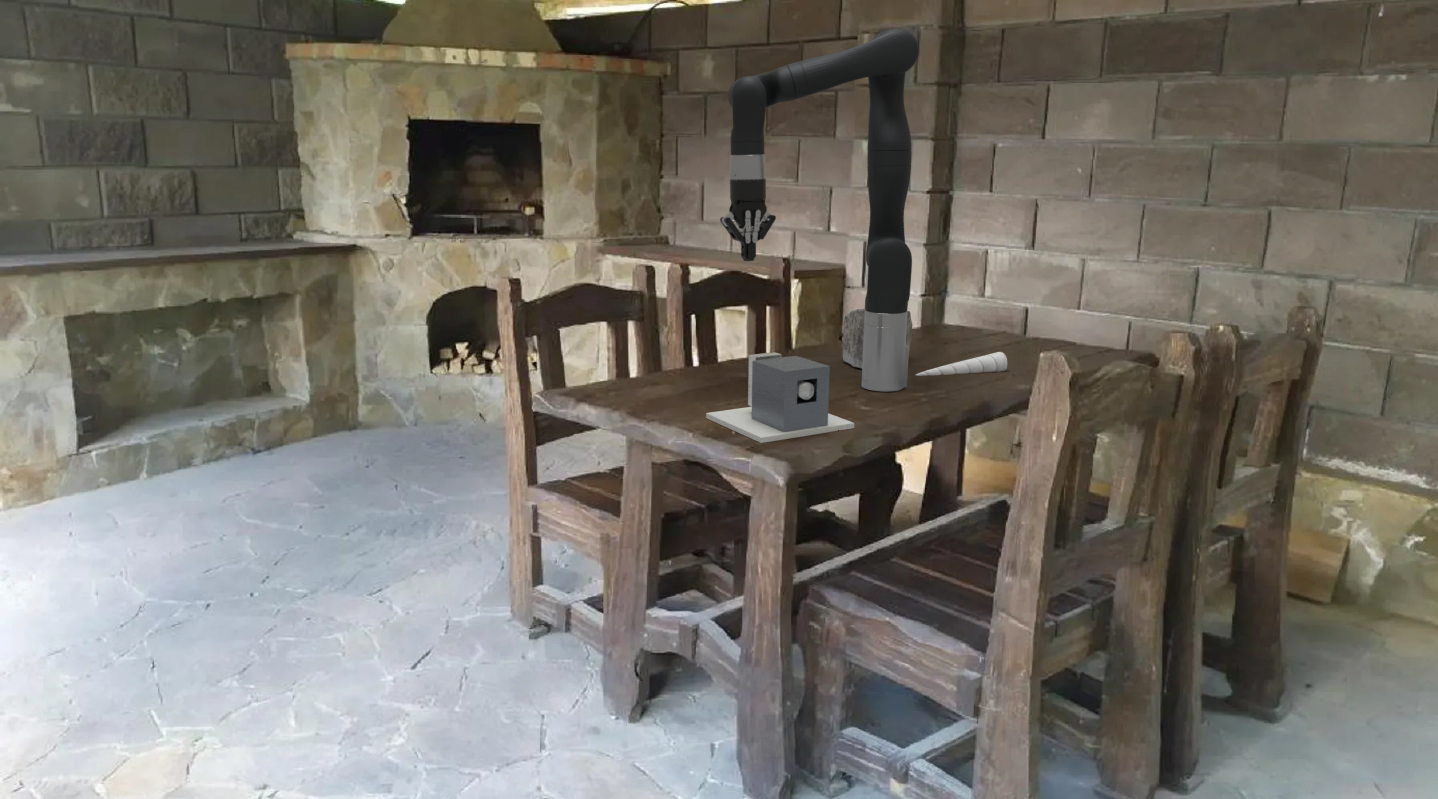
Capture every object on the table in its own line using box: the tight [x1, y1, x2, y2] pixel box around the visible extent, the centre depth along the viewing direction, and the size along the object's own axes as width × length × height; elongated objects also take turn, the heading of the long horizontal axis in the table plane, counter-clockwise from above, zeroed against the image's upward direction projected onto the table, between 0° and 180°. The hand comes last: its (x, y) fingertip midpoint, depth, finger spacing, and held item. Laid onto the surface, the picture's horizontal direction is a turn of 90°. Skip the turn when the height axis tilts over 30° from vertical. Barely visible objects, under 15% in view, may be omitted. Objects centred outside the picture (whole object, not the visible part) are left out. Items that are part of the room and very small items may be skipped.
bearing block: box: [751, 355, 831, 432], centre depth 195 cm, size 10×11×11 cm
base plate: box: [705, 406, 855, 444], centre depth 199 cm, size 21×20×1 cm
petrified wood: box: [841, 308, 913, 369], centre depth 253 cm, size 19×17×15 cm
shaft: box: [747, 351, 814, 407], centre depth 197 cm, size 6×16×10 cm, turn 31°
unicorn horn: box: [915, 351, 1008, 377], centre depth 245 cm, size 5×24×5 cm, turn 106°
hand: (748, 260), depth 219 cm, fingers closed
